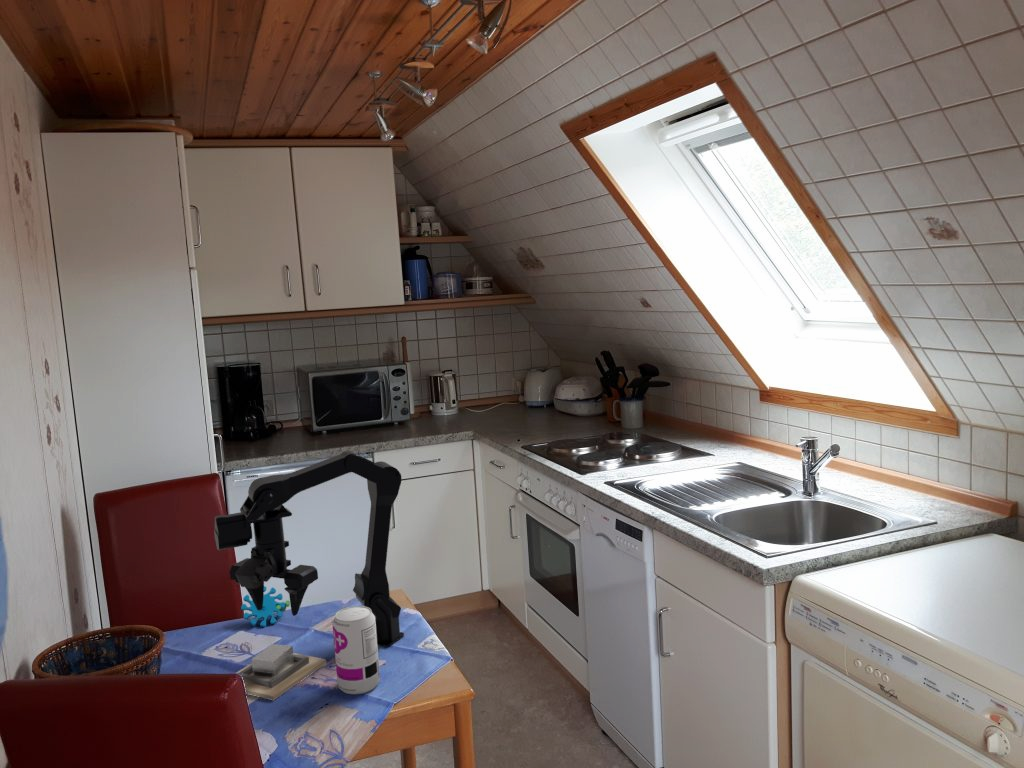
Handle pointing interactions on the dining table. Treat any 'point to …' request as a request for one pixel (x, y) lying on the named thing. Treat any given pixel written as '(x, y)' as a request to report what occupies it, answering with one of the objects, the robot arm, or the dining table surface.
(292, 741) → the dining table surface
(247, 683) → the dock
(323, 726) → the dining table surface
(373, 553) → the robot arm
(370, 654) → the supplement can
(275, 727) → the dining table surface
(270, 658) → the block
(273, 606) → the gear
